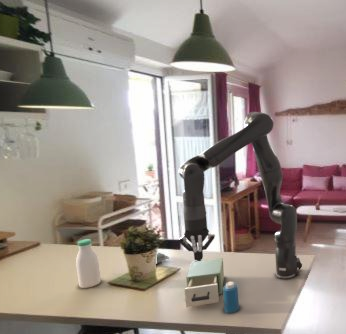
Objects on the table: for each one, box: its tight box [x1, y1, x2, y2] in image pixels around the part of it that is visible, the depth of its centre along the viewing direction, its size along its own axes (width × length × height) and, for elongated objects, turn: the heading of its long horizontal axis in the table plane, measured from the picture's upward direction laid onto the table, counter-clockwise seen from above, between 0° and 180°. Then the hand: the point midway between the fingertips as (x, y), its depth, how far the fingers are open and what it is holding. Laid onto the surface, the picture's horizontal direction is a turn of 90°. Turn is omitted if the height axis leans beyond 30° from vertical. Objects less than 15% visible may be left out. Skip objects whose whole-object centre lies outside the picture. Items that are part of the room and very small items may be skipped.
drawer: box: [184, 275, 220, 308], centre depth 132 cm, size 18×12×7 cm, turn 16°
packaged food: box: [156, 251, 170, 265], centre depth 167 cm, size 9×12×5 cm
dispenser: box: [185, 257, 225, 295], centre depth 142 cm, size 15×13×9 cm
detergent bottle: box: [222, 281, 240, 314], centre depth 126 cm, size 5×5×10 cm
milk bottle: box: [75, 238, 102, 289], centre depth 145 cm, size 8×8×20 cm
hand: (199, 260), depth 126 cm, fingers closed
